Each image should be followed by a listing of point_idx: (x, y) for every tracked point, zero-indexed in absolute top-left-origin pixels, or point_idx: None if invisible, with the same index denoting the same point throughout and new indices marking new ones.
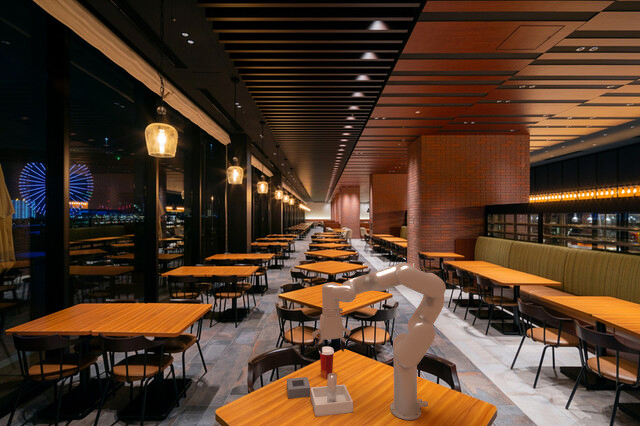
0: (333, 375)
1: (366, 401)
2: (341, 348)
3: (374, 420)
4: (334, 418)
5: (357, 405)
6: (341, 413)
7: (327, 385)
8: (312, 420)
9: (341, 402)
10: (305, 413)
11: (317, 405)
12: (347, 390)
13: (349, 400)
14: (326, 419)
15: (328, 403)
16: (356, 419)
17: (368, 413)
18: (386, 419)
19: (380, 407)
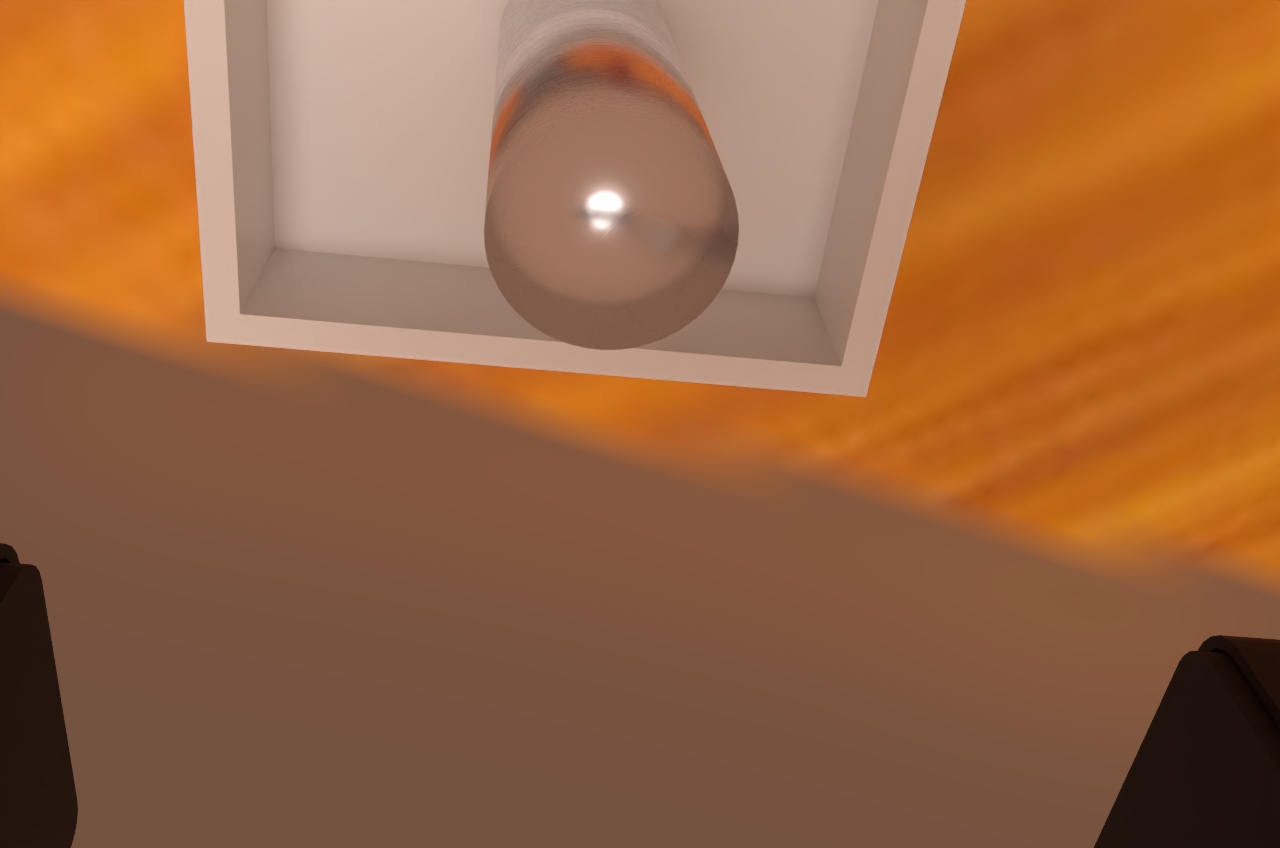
0: (641, 253)
1: (1189, 108)
2: (1167, 830)
3: (1006, 522)
4: (521, 368)
5: (988, 172)
6: None
7: (492, 127)
8: (195, 332)
9: (670, 376)
10: (93, 146)
11: (245, 342)
12: (953, 39)
13: (850, 275)
14: (403, 361)
15: (444, 347)
16: (802, 455)
17: (1023, 387)
18: (1154, 539)
19: (1271, 310)
